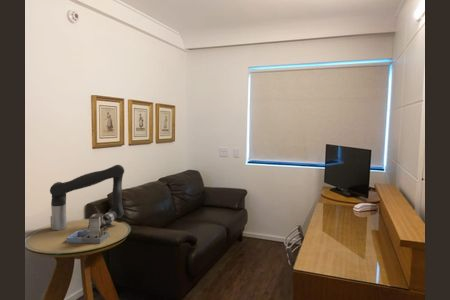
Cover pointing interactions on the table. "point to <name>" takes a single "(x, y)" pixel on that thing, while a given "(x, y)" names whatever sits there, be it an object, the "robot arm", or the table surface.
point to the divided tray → (86, 237)
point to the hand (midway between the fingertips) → (94, 227)
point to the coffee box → (96, 225)
